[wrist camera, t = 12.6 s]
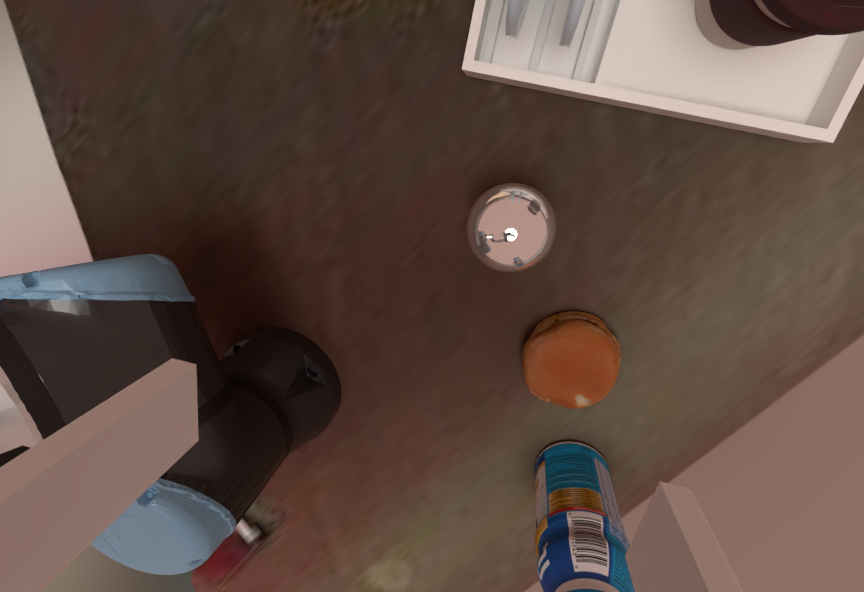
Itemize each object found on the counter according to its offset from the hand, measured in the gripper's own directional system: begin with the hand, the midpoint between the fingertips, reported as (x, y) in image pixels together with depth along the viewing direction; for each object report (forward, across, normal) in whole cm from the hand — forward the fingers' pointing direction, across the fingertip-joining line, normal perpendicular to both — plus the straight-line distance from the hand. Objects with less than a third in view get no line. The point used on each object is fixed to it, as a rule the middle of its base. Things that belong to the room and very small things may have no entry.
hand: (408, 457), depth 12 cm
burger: (+33, +12, -10) cm, 37 cm away
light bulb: (+33, +3, +3) cm, 33 cm away
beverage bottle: (+33, +16, -25) cm, 44 cm away
